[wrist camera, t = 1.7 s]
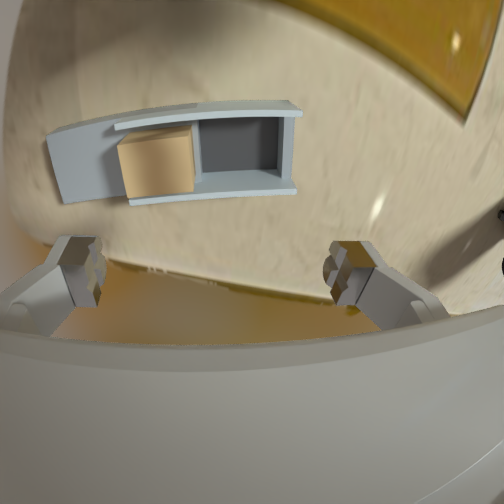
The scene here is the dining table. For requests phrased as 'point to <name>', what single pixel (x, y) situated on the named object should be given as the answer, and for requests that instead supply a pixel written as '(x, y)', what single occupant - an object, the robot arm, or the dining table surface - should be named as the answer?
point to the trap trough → (205, 150)
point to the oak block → (158, 161)
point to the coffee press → (502, 216)
